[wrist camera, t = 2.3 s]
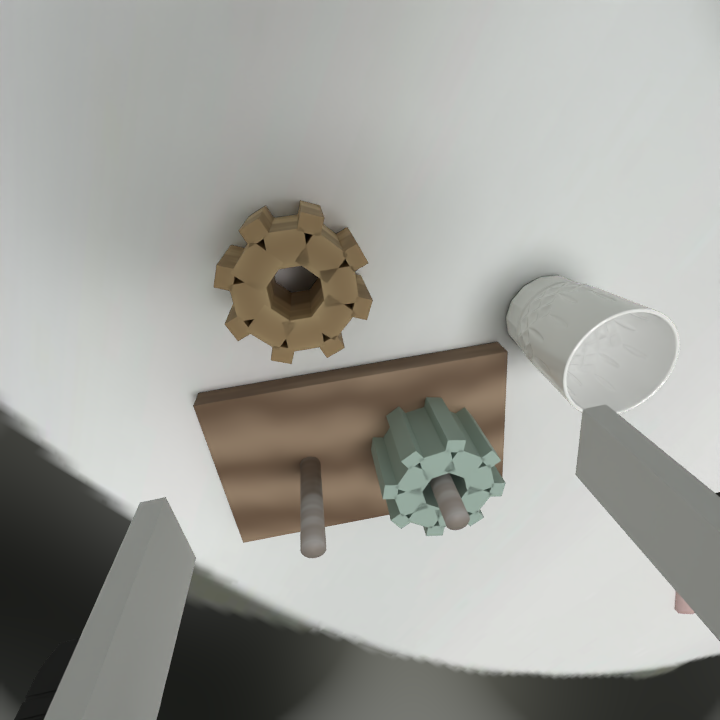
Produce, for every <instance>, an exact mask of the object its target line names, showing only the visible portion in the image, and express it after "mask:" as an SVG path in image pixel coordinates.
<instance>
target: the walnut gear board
mask: <svg viewBox="0 0 720 720" xmlns="http://www.w3.org/2000/svg"><path fill="white" fill-rule="evenodd" d="M507 354H508V352H507V351H506V350H505V349H504V348H503V347H502V346H501V345H500V344H499V343H498V342H494V343H488V344H483V345H477V346H471V347H465V348H459V349H453V350H447V351H442V352H436V353H430V354H424V355H418V356H412V357H407V358H401V359H395V360H389V361H383V362H377V363H371V364H366V365H360V366H354V367H348V368H342V369H336V370H330V371H325V372H319V373H313V374H307V375H301V376H295V377H289V378H284V379H278V380H272V381H266V382H260V383H254V384H248V385H243V386H237V387H231V388H225V389H219V390H213V391H208V392H202V393H198V396H197V398H196V401H195V403H194V405H193V406H194V409H195V412H196V415H197V417H198V420H199V423H200V426H201V428H202V431H203V434H204V437H205V439H206V442H207V445H208V447H209V450H210V453H211V456H212V458H213V461H214V464H215V467H216V469H217V472H218V475H219V477H220V480H221V483H222V486H223V488H224V491H225V494H226V497H227V499H228V502H229V505H230V507H231V510H232V513H233V516H234V518H235V521H236V524H237V527H238V529H239V532H240V535H241V537H242V540H243V543H244V542H249V541H254V540H259V539H265V538H270V537H275V536H280V535H285V534H291V533H296V532H301V553H302V555H304V556H305V557H308V558H316V557H319V556H321V555H323V554H324V553H325V551H326V538H325V527H327V526H332V525H337V524H343V523H348V522H353V521H358V520H363V519H369V518H374V517H379V516H384V515H389V511H388V506H387V502H386V499H383V498H382V494H381V490H380V486H379V481H378V477H377V473H376V469H375V465H374V460H373V456H372V452H371V447H372V439H373V437H384V436H385V434H386V433H387V431H388V429H389V428H390V426H389V423H388V420H387V417H386V416H387V415H388V414H389V413H391V412H392V411H393V410H395V409H396V408H397V407H400V408H401V409H402V410H403V411H404V412H405V413H407V412H410V411H413V410H416V409H419V408H422V407H424V405H425V400H426V397H438V398H442V399H443V401H444V402H445V404H446V406H447V408H448V409H449V411H451V412H453V413H457V412H458V411H460V410H461V409H463V408H464V407H465V408H466V409H467V410H468V412H469V413H470V414H471V415H472V416H473V418H474V419H475V421H476V422H477V424H478V425H479V427H480V428H481V430H482V432H483V433H484V435H485V436H486V438H487V439H488V441H489V442H490V444H491V445H492V447H493V448H494V450H495V452H496V453H497V455H498V456H499V458H500V459H501V461H500V462H499V463H497V464H496V465H495V467H496V468H497V470H498V472H499V473H500V475H501V476H502V471H503V448H504V424H505V401H506V377H507ZM429 483H430V485H431V488H432V491H433V493H434V496H435V498H436V501H437V503H438V506H439V509H440V511H441V514H442V516H443V519H444V521H445V524H446V526H447V528H449V529H451V530H459V529H462V528H464V527H465V526H466V525H467V524H468V523H469V521H470V517H469V514H468V512H467V510H466V508H465V506H464V504H463V501H462V499H461V497H460V495H459V493H458V491H457V489H456V486H455V484H454V482H453V480H452V478H451V476H450V473H447V474H444V475H441V476H438V477H435V478H432V479H431V480H430V482H429Z"/></svg>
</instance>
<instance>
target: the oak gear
mask: <svg viewBox="0 0 720 720" xmlns="http://www.w3.org/2000/svg"><path fill="white" fill-rule="evenodd" d="M323 222H324V216H323V213H322V210H321V207H320V206H319V205H316V204H312V203H308V202H304V201H301V200H300V205H299V210H298V214H297V215H290V216H283V217H277V218H274V217H273V216H272V214H271V213H270V211H269V210H268V208H267V207H266V206H264V207H263V208H261V209H260V210H258V211H256V212H255V213H253V214H252V215H250V216H249V217H248V218H247V220H246V221H245V223H244V224H243V225H242V227H241V228H240V229H239V233H240V234H241V235H242V237H243V238H244V240H245V241H246V243H247V245H246V247H245V248H243V247H238V246H234V245H230V247H229V248H228V250H227V251H226V252H225V254H224V255H223V257H222V258H221V260H220V261H219V262H218V264H217V265H216V273H215V281H214V288H219V289H224V290H228V291H230V293H231V296H232V300H233V305H232V308H231V310H230V312H229V315H228V317H227V320H226V322H225V325H226V327H227V328H228V329H229V330H230V332H231V333H232V334H233V335H234V337H235V338H236V339H237V340H238V341H239V340H241V339H243V338H244V337H246V336H248V335H249V334H252V335H253V336H255V337H257V338H258V339H260V340H262V341H263V342H265V343H267V344H268V345H270V346H272V354H271V360H272V361H278V362H283V363H289V364H292V359H293V355H294V351H299V350H305V349H311V348H317V347H320V349H321V350H322V352H323V353H324V354H325V356H326V357H327V358H328V357H330V356H331V355H333V354H335V353H337V352H338V351H340V350H342V349H343V348H345V347H344V343H343V339H342V334H341V331H342V330H343V329H344V328H345V326H346V325H347V324H348V323H349V321H350V320H351V319H352V317H355V318H360V319H365V320H367V318H368V314H369V311H370V308H371V304H372V301H373V300H372V298H371V296H370V294H369V292H368V289H367V287H366V285H365V283H364V281H363V279H362V277H361V275H356V274H355V271H356V270H358V269H359V268H361V267H363V266H364V265H366V264H368V261H367V260H366V258H365V256H364V254H363V253H362V251H361V249H360V247H359V246H358V244H357V242H356V240H355V239H354V237H353V236H352V234H351V232H350V231H349V229H348V227H347V228H345V229H343V230H342V231H340V232H339V233H337V234H335V233H334V232H333V231H331V230H330V229H329V228H327V227H326V226H325V225H324V224H323ZM297 266H303V267H304V268H306V269H307V270H309V271H310V272H311V273H313V274H314V275H316V276H317V277H318V279H317V280H316V282H315V283H314V284H313V286H312V287H311V288H310V290H305V291H298V292H292V293H291V292H290V291H288V290H287V289H285V288H284V287H282V286H281V285H279V284H278V283H276V281H275V274H276V273H277V271H278V270H279V269H284V268H290V267H297Z"/></svg>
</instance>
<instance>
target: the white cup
mask: <svg viewBox="0 0 720 720" xmlns="http://www.w3.org/2000/svg"><path fill="white" fill-rule="evenodd" d="M506 322H507V329H508V334H509V335H510V337H511V338H512V339H513V340H514V341H515V343H516V344H517V345H518V346H519V347H520V348H521V349H522V350H523V352H524V354H525V356H526V357H527V358H528V359H529V360H530V361H531V362H532V364H533V365H534V366H535V367H536V368H537V369H538V370H539V371H540V372H541V373H542V374H543V375H544V376H545V378H546V379H547V380H548V381H549V382H550V383H551V384H552V385H553V386H554V387H555V388H556V389H557V390H558V391H559V392H560V393H561V394H562V396H563V397H564V398H565V399H566V400H567V401H568V402H569V403H570V404H571V405H572V406H573V407H574V408H575V409H576V410H578V411H580V412H581V413H582V412H583V409H585V408H590V407H595V406H599V405H604V404H606V405H608V406H609V407H610V408H611V409H612V410H614V411H615V412H616V413H617V414H621V413H624V412H626V411H629V410H631V409H633V408H635V407H637V406H639V405H640V404H642V403H643V402H645V401H646V400H648V399H649V398H650V397H651V396H652V395H654V394H655V393H656V392H657V391H658V390H659V389H660V388H661V387H662V385H663V384H664V383H665V382H666V380H667V379H668V377H669V376H670V374H671V372H672V371H673V369H674V367H675V364H676V362H677V359H678V355H679V349H680V339H679V334H678V331H677V328H676V326H675V324H674V323H673V322H672V320H671V319H670V318H669V317H667V316H666V315H665V314H663V313H661V312H659V311H656V310H653V309H651V308H648V307H646V306H643V305H640V304H638V303H635V302H633V301H630V300H628V299H625V298H622V297H620V296H617V295H614V294H612V293H609V292H607V291H604V290H602V289H599V288H596V287H593V286H589V285H587V284H581V283H578V282H574V281H571V280H569V279H567V278H564V277H562V276H559V275H555V276H546V277H540V278H538V279H536V280H534V281H532V282H531V283H529V284H527V285H525V286H524V287H523V288H522V289H521V290H520V291H519V293H518V294H517V295H516V296H515V297H514V299H513V300H512V301H511V304H510V307H509V310H508V313H507V316H506Z"/></svg>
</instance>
